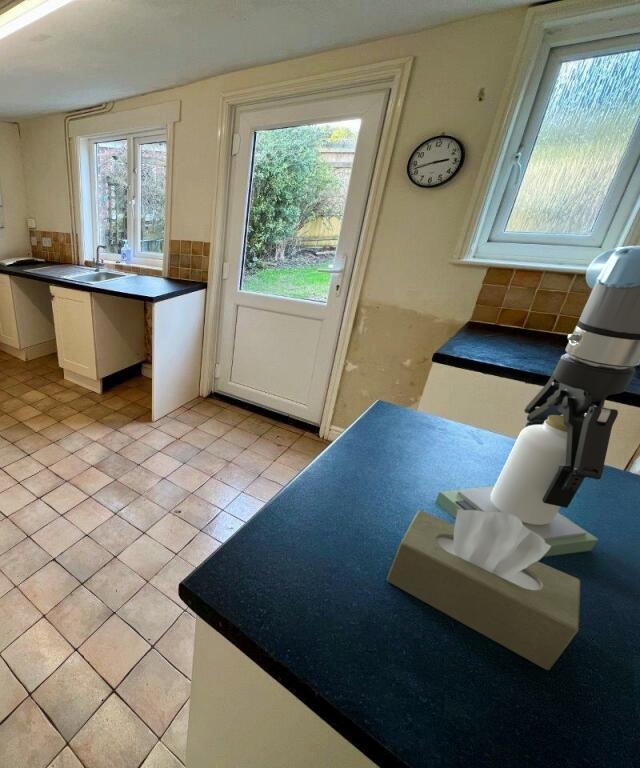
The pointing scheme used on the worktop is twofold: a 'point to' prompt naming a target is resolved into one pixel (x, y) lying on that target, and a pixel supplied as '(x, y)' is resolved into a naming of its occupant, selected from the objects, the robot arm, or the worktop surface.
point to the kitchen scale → (555, 533)
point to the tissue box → (490, 581)
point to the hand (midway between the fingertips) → (537, 478)
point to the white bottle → (532, 472)
